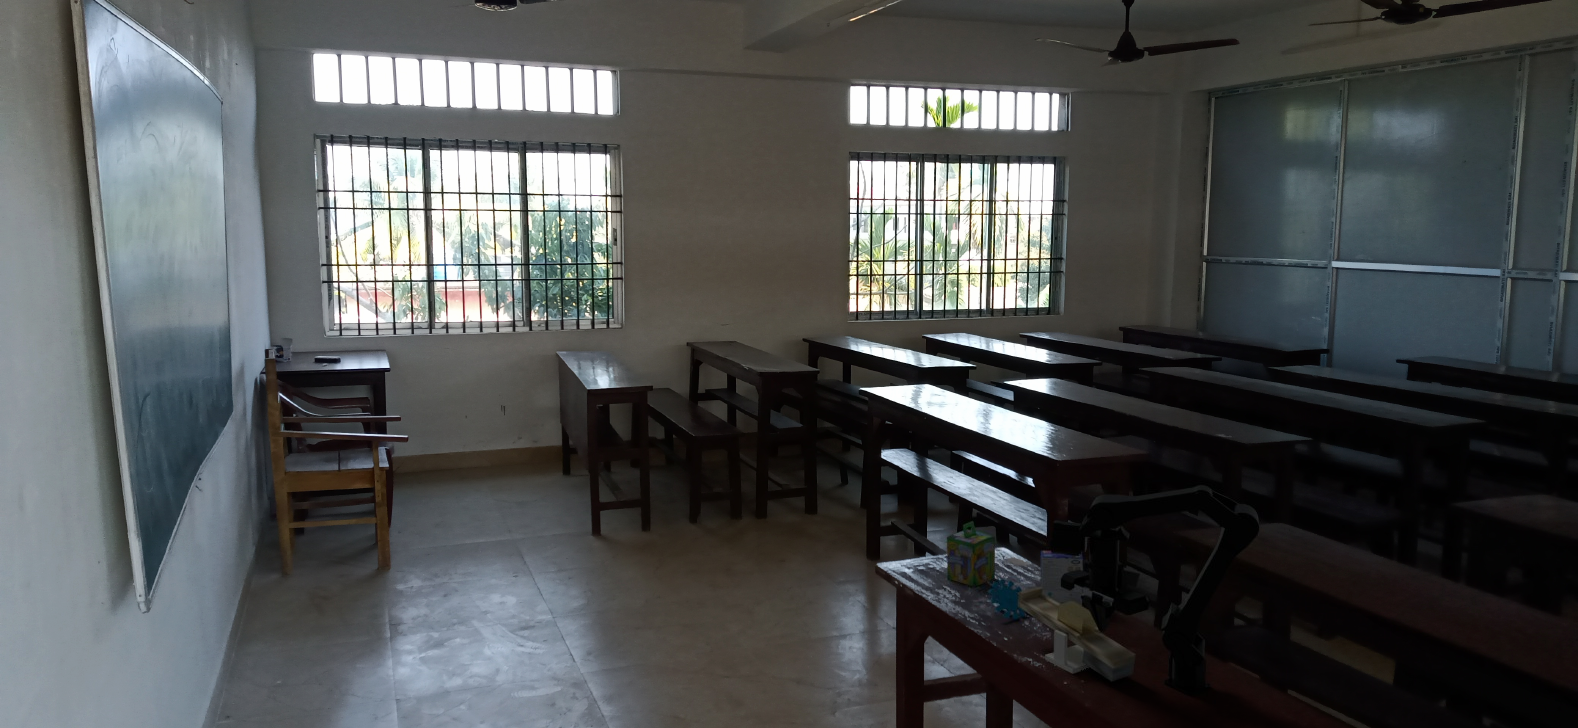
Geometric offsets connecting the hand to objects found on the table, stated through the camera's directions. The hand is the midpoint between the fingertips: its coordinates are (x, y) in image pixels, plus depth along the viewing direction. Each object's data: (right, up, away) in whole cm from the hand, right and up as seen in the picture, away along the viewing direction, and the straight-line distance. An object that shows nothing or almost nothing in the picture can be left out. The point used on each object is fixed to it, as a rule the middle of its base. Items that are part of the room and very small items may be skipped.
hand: (1102, 631), depth 209 cm
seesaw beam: (-4, -5, +8) cm, 10 cm away
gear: (-12, -5, +33) cm, 35 cm away
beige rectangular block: (-4, -1, +7) cm, 8 cm away
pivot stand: (-3, -8, +7) cm, 11 cm away
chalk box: (-17, -1, +55) cm, 58 cm away
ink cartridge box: (+2, -3, +39) cm, 39 cm away
